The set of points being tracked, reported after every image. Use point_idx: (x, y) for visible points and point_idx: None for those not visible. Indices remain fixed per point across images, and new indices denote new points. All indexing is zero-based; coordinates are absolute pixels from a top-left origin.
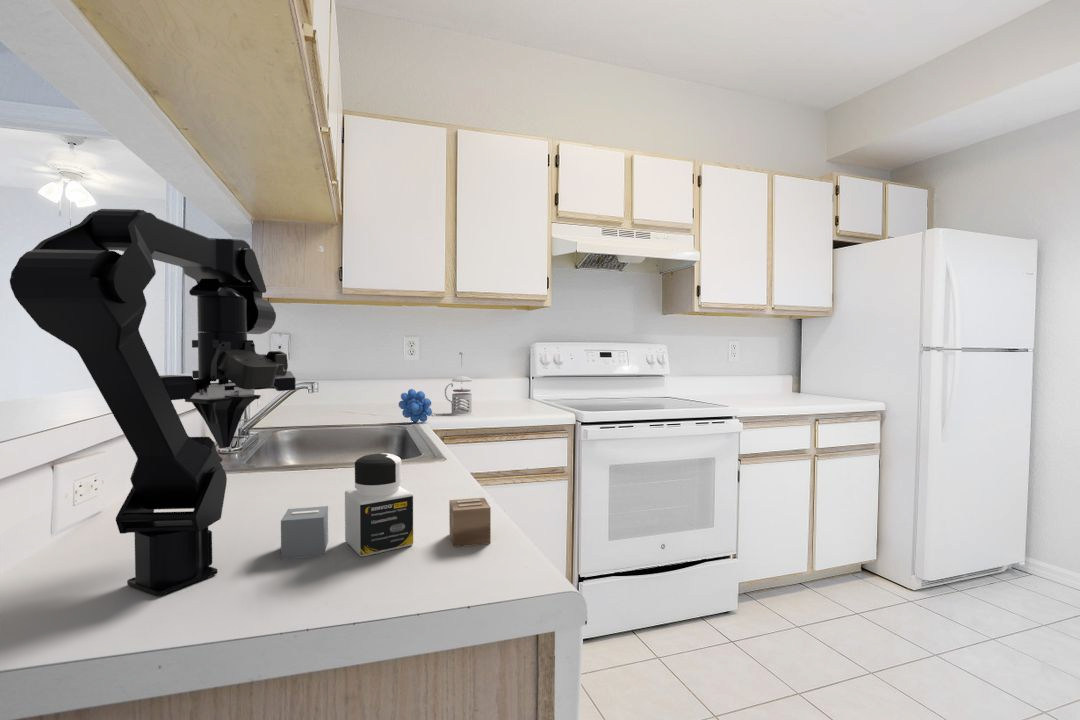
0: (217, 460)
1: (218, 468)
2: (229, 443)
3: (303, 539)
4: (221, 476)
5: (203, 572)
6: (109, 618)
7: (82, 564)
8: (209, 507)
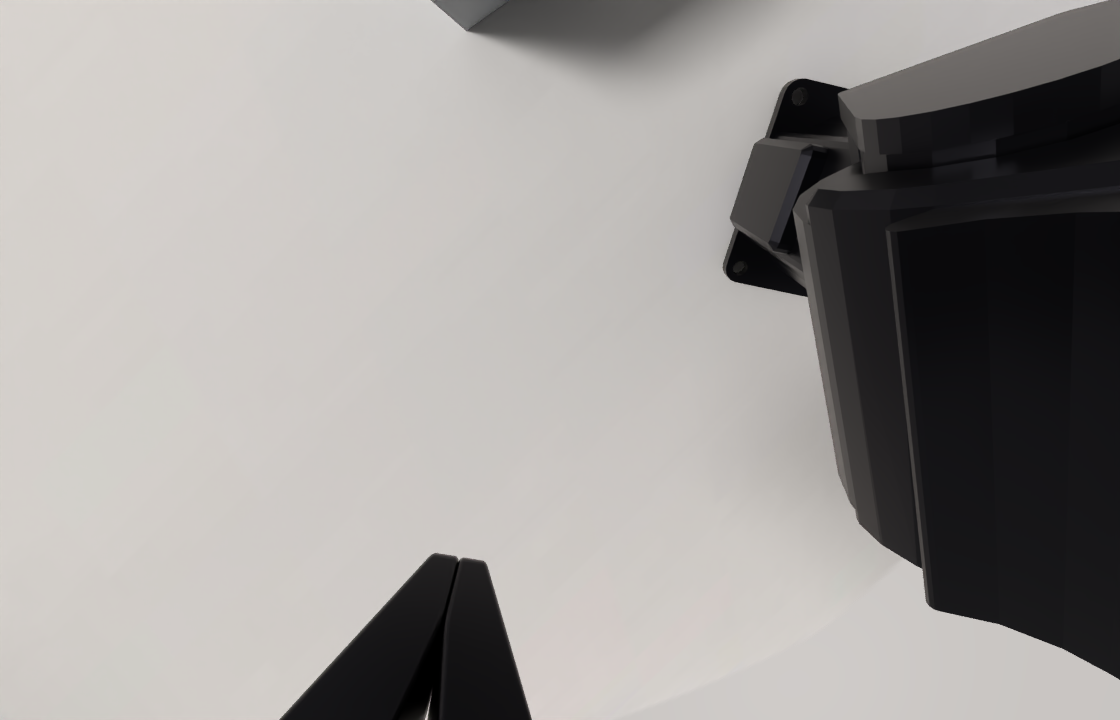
0: (1054, 162)
1: (1103, 68)
2: (433, 572)
3: None
4: (984, 87)
5: (822, 112)
6: None
7: (755, 541)
8: (1029, 39)
